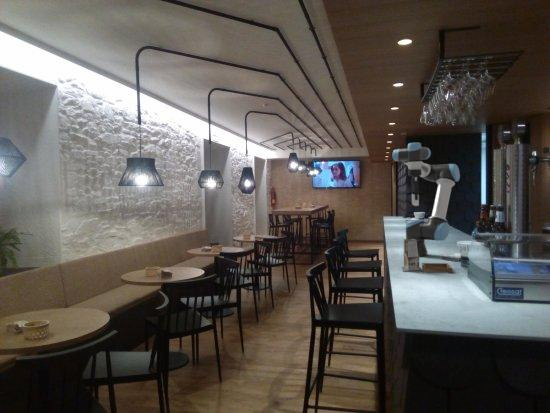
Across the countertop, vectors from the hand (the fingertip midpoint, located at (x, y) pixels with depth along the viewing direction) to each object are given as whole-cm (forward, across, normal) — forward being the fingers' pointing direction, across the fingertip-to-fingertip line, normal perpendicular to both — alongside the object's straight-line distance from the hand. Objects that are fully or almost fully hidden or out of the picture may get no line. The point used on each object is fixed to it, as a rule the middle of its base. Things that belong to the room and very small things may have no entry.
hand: (415, 205), depth 254 cm
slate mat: (+35, +20, -4) cm, 40 cm away
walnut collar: (+35, +20, +9) cm, 41 cm away
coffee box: (+34, +20, -4) cm, 40 cm away
